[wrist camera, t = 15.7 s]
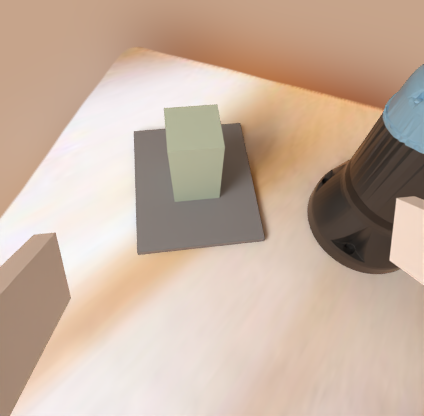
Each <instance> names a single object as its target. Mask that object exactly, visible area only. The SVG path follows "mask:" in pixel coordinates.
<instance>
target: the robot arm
mask: <svg viewBox="0 0 424 416" xmlns="http://www.w3.org/2000/svg"><path fill="white" fill-rule="evenodd" d="M308 221H309V225H310V228H311V230H312V233H313V235H314V237H315V238H316V240H317V242H318V243H319V244H320V246H321V247H322V248H323V249H324V250H325V251H326V252H327V253H328V254H329V255H330V256H331V257H332V258H334V259H335V260H336V261H338V262H339V263H341V264H343V265H344V266H346V267H348V268H351V269H353V270H356V271H359V272H363V273H369V274H385V273H390V272H394V271H396V270H399V269H402V270H403V271H405V272H406V273H407V274H409V275H410V276H411V277H413V278H414V279H415V280H417V281H418V282H420V283H421V284H422V285H424V64H423V65H422V66H420V67H419V68H418V69H417V70H416V71H415V72H414V73H413V74H412V75H411V76H410V77H409V79H408V80H407V81H406V82H405V84H404V85H403V86H402V88H401V89H400V90H399V91H398V92H397V93H396V94H394V95H393V96H392V97H391V98H390V99H389V101H388V102H387V104H386V106H385V109H384V111H383V113H382V115H381V116H380V118H379V119H378V121H377V122H376V124H375V125H374V127H373V128H372V130H371V131H370V132H369V134H368V135H367V137H366V138H365V140H364V141H363V143H362V144H361V145H360V147H359V148H358V150H357V151H356V152H355V154H354V156H353V157H352V158H351V159H350V160H348V161H346V162H345V163H343V164H341V165H339V166H338V167H336V168H334V169H333V170H331V171H329V172H328V173H327V174H326V175H325V176H323V177H322V179H321V180H320V181H319V182H318V184H317V185H316V187H315V189H314V190H313V192H312V194H311V196H310V199H309V203H308ZM70 299H71V297H70V292H69V288H68V284H67V280H66V275H65V271H64V267H63V262H62V258H61V254H60V250H59V245H58V241H57V237H56V233H48V234H38V235H33V236H32V237H31V238H30V239H29V240H28V241H27V242H26V243H25V244H24V245H23V246H22V247H21V248H20V249H19V250H17V251H16V252H15V253H14V254H13V255H12V256H11V257H10V258H9V259H8V260H7V261H6V262H5V263H4V264H3V265H2V266H1V267H0V416H10V414H11V412H12V411H13V409H14V407H15V405H16V403H17V401H18V399H19V397H20V395H21V393H22V391H23V389H24V387H25V385H26V384H27V382H28V380H29V378H30V376H31V374H32V372H33V370H34V368H35V366H36V364H37V362H38V360H39V358H40V356H41V355H42V353H43V351H44V349H45V347H46V345H47V343H48V341H49V339H50V337H51V335H52V333H53V331H54V329H55V328H56V326H57V324H58V322H59V320H60V318H61V316H62V314H63V312H64V310H65V308H66V306H67V304H68V302H69V301H70Z"/></svg>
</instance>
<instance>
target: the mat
mask: <svg viewBox="0 0 424 416" xmlns="http://www.w3.org/2000/svg"><path fill="white" fill-rule="evenodd" d="M221 128H222V134H223V140H224V145H225V151H224V160H223V169H222V179H221V188H220V197H219V198H211V199H201V200H190V201H180V202H175V200H174V193H173V187H172V180H171V173H170V166H169V160H168V153H167V141H166V129H159V130H146V131H134V152H135V188H136V224H137V253H138V255H141V254H150V253H159V252H168V251H177V250H186V249H195V248H204V247H213V246H222V245H232V244H241V243H250V242H259V241H264V239H265V237H264V233H263V228H262V223H261V219H260V214H259V209H258V205H257V200H256V195H255V191H254V186H253V181H252V177H251V172H250V167H249V163H248V158H247V153H246V148H245V144H244V139H243V134H242V130H241V125H240V123H235V124H222V125H221Z"/></svg>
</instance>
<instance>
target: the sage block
mask: <svg viewBox="0 0 424 416" xmlns="http://www.w3.org/2000/svg"><path fill="white" fill-rule="evenodd" d="M164 115H165V128H166V141H167V153H168V160H169V166H170V173H171V180H172V187H173V193H174V200H175V202H180V201H190V200H201V199H211V198H219V197H220V188H221V179H222V169H223V160H224V151H225V145H224V140H223V134H222V128H221V122H220V117H219V111H218V105H203V106H188V107H174V108H164Z"/></svg>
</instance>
